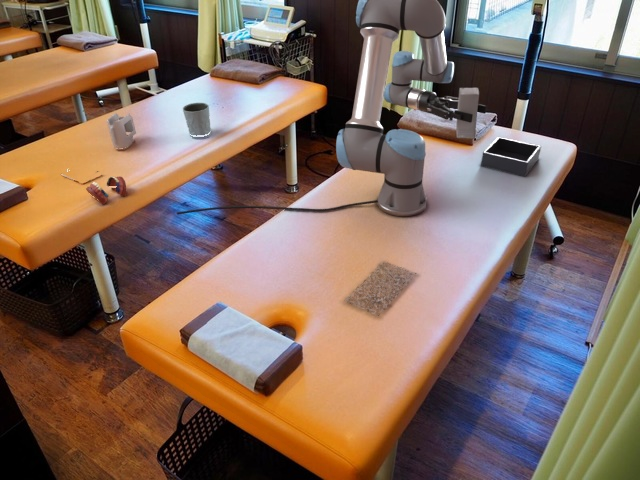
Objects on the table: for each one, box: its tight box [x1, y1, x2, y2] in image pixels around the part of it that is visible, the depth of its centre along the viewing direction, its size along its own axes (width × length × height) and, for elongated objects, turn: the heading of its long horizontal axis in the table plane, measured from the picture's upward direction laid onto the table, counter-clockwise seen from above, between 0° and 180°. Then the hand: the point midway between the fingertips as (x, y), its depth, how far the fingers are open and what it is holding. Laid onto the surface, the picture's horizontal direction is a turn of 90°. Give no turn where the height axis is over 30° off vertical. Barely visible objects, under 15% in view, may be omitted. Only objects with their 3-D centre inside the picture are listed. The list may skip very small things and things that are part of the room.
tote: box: [480, 136, 542, 178], centre depth 189 cm, size 16×16×5 cm
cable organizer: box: [106, 112, 137, 151], centre depth 208 cm, size 7×12×12 cm, turn 169°
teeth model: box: [85, 176, 127, 205], centre depth 176 cm, size 8×6×12 cm
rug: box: [344, 260, 417, 317], centre depth 134 cm, size 10×20×1 cm, turn 145°
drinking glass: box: [182, 102, 212, 140], centre depth 214 cm, size 10×10×12 cm
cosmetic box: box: [455, 87, 480, 140], centre depth 186 cm, size 8×7×16 cm
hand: (478, 114), depth 184 cm, fingers closed on cosmetic box, 10 cm apart
